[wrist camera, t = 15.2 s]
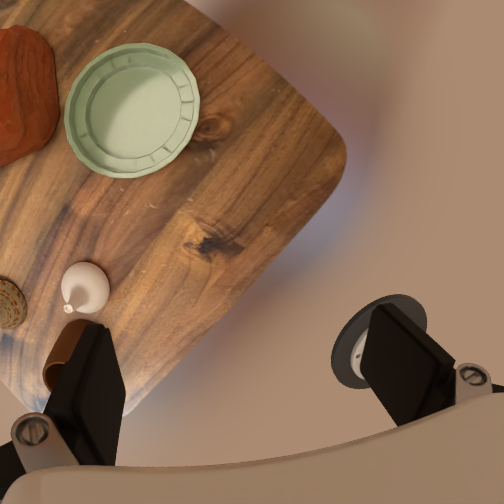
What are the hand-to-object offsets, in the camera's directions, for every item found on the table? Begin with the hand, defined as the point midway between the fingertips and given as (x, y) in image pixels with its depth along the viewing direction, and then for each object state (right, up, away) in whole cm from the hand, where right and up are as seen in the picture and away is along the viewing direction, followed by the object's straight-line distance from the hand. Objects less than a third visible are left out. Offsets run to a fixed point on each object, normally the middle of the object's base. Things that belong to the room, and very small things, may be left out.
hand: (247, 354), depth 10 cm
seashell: (-35, -3, +24) cm, 43 cm away
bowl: (-13, +19, +20) cm, 30 cm away
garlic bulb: (-20, 0, +26) cm, 33 cm away
